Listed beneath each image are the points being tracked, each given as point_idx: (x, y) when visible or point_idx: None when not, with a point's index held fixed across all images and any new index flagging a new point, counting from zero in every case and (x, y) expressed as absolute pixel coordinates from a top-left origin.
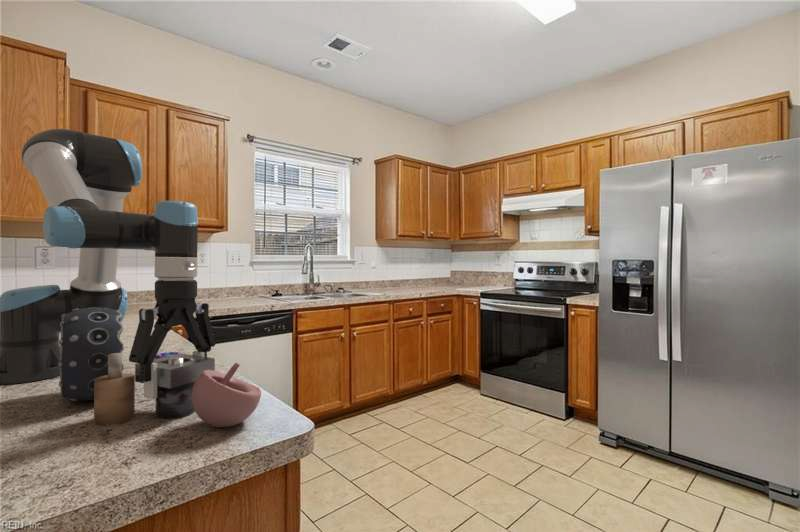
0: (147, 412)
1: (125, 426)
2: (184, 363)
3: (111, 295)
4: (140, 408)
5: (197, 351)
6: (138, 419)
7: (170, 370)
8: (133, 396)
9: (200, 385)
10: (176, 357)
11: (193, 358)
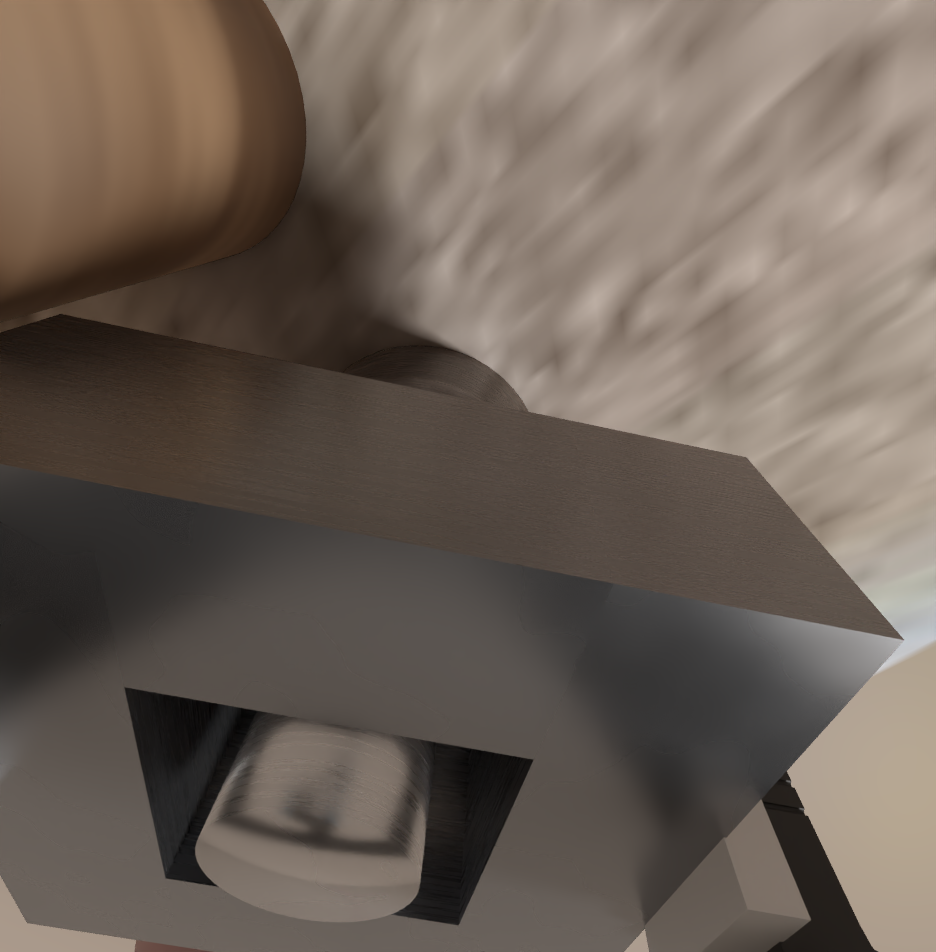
0: (370, 261)
1: (137, 327)
2: (271, 919)
3: None
4: (423, 109)
5: (771, 942)
6: (249, 311)
7: (31, 914)
8: (159, 271)
9: None
10: (354, 858)
11: (515, 904)
